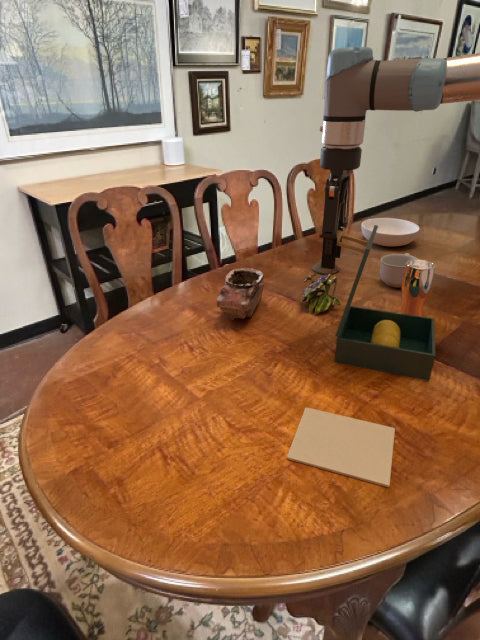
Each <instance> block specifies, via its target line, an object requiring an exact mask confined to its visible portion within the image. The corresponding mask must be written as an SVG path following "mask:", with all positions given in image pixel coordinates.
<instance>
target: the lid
mask: <svg viewBox="0 0 480 640" xmlns="http://www.w3.org/2000/svg"><path fill="white" fill-rule="evenodd" d="M377 228H378V226H377V225H374V228H373V231H372V233H371V236H370V239H369V240H364V239H361V238H358V237H354V236H351V235H348V234H344V232H343V233H342V231H341V230H337V238H338V239H337V246H341V248H345V249H348V250H351V251H355V252H358V253H362V254H363V256H362V259H361V260H360V261H361V262H360V264H359V267H358V270H357V272H356V275H355V278H354V281H353V284H352V287H351V290H350V291H349V292H350V293H349V295H348V298H347V301H346V304H345V307H344V310H343V313H342V315H341V319H340V322H339V324H338V326H337V330H336V333H335V337H336V338H337V337H339V336H340V333H341V330H342V327H343V325H344V322H345V319H346V316H347V313H348V311H349V308H350V306H352V305H351V304H352V302H353V298H354V296H355V293H356V291H357V288H358V286H359V282H360V281H361V277H362V274H363V271H364V268H365V265H366V262H367V260H368V257H369V255H370V252H371V248H372V245H373V244H374V243H373V240H374V237H375V234H376V231H377ZM341 238H342V240H346V241H350V242H354V243H357V244H361V245H364V246H366V247H365V248H363V247H359V246H356V245H352V244H349V243H345V242H343V241H342V242H339V241H340V240H341Z"/></svg>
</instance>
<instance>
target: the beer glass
mask: <svg viewBox="0 0 480 640" xmlns="http://www.w3.org/2000/svg"><path fill="white" fill-rule="evenodd" d="M435 269H436V265H435V263H433V262H431V261H429V260H426V259H419V260H417V259H416V260H409V261H407V262H406V267H405V270H404V274H403V278H402V288H401V303H400V308H399V309H398V312H397V313H402V314H409V315H416V316H422V317H423V311H424V306H425V304H426V301H427V299H428V297H429V294H430V292H431V290H432V286H433V283H434V277H435Z"/></svg>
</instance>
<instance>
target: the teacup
mask: <svg viewBox="0 0 480 640" xmlns="http://www.w3.org/2000/svg"><path fill="white" fill-rule="evenodd" d="M416 259H417V260H420V258H417V257H416V256H413V255H411V253H410V252H409V253H408V252H405V253H404V254H403V253H391V254H386V255H383V256H382V257H380V267H379V273H380V274H379V277H380V279H381V281H382V282H383V283H385V285H386V286H388V287H391V288H399V289H402V278H403V274H404V270H405V267H406V262H407V261H409V260H416Z"/></svg>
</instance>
